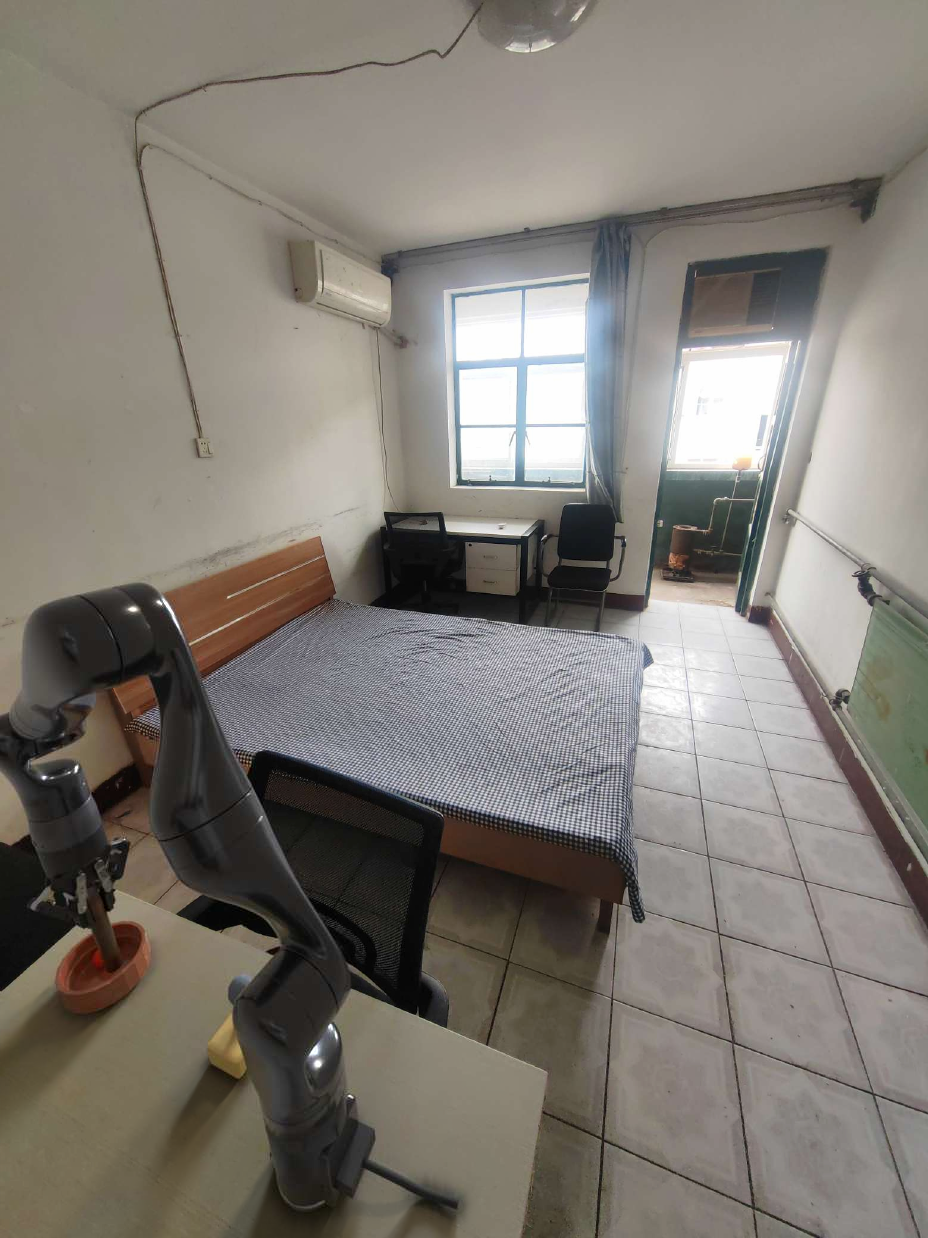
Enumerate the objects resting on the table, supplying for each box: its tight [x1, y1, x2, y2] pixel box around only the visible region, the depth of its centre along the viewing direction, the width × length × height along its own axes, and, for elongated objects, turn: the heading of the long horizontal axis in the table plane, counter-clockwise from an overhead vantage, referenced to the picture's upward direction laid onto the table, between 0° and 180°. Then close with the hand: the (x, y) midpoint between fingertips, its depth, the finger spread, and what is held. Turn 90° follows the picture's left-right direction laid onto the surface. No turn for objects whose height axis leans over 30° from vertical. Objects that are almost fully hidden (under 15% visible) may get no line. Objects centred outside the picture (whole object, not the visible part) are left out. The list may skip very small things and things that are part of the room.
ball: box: [92, 950, 104, 968], centre depth 80 cm, size 3×3×3 cm
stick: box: [86, 886, 123, 973], centre depth 74 cm, size 2×2×16 cm
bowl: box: [54, 920, 152, 1015], centre depth 78 cm, size 12×12×5 cm
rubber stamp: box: [206, 973, 253, 1080], centre depth 69 cm, size 10×6×12 cm, turn 160°
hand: (98, 916), depth 73 cm, fingers closed on stick, 2 cm apart
